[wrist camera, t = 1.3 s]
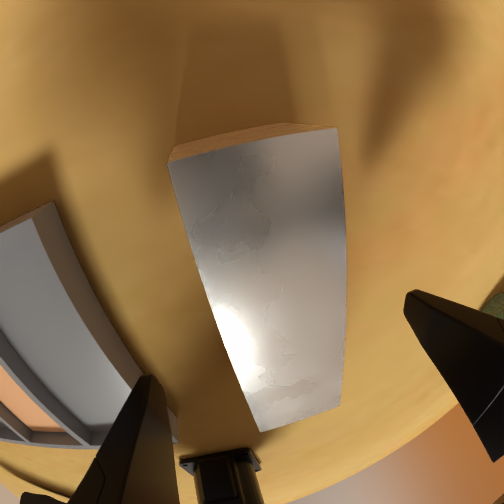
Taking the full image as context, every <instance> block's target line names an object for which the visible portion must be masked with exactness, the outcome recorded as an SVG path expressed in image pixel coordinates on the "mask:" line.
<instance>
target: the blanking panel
mask: <svg viewBox="0 0 504 504" xmlns="http://www.w3.org/2000/svg"><path fill="white" fill-rule="evenodd" d="M167 167H168V171H169V174H170V178H171V182H172V185H173V189H174V192H175V196H176V199H177V203H178V206H179V210H180V213H181V216H182V220H183V223H184V226H185V230H186V233H187V236H188V239H189V243H190V246H191V249H192V252H193V255H194V258H195V261H196V265H197V268H198V271H199V274H200V277H201V280H202V283H203V286H204V289H205V291H206V294H207V297H208V300H209V303H210V306H211V309H212V312H213V314H214V317H215V320H216V323H217V326H218V328H219V331H220V334H221V336H222V339H223V342H224V345H225V347H226V350H227V352H228V355H229V358H230V360H231V363H232V365H233V368H234V371H235V373H236V376H237V378H238V381H239V383H240V386H241V388H242V391H243V393H244V396H245V398H246V400H247V403H248V405H249V408H250V410H251V412H252V415H253V417H254V419H255V422H256V424H257V426H258V429H259V431H260V433H261V432H264V431H268V430H271V429H275V428H278V427H281V426H285V425H288V424H291V423H294V422H297V421H300V420H303V419H306V418H308V417H311V416H314V415H317V414H319V413H322V412H325V411H327V410H330V409H332V408H335V407H337V406H340V399H341V389H342V378H343V365H344V351H345V332H346V300H347V259H346V226H345V207H344V192H343V179H342V168H341V158H340V149H339V140H338V132H337V128H334V127H326V126H317V125H307V124H295V123H275V124H269V125H264V126H258V127H253V128H248V129H243V130H238V131H233V132H229V133H224V134H220V135H215V136H211V137H207V138H203V139H199V140H195V141H191V142H187V143H184V144H180V145H177V146H174V148H173V150H172V152H171V154H170V156H169V158H168V161H167Z"/></svg>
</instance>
